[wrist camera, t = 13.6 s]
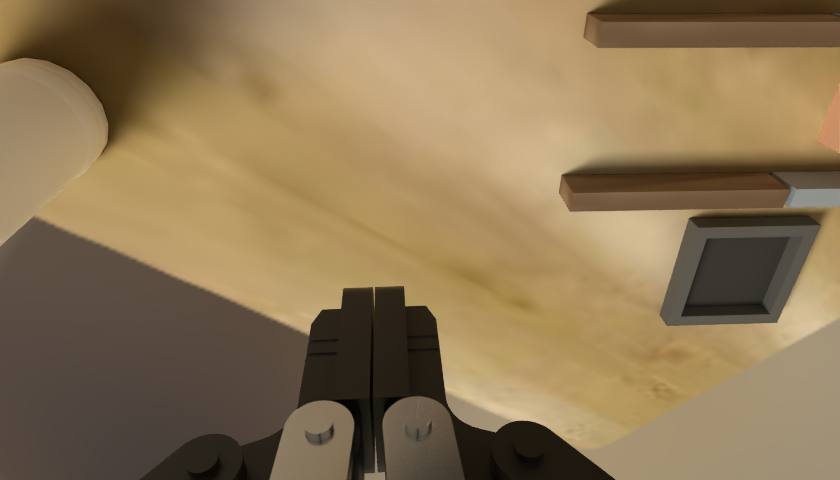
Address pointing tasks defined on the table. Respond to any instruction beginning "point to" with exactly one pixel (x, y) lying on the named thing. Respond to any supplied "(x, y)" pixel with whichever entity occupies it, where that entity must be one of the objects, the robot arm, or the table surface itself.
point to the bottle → (43, 136)
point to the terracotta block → (832, 125)
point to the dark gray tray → (737, 269)
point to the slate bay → (811, 186)
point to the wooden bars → (693, 33)
